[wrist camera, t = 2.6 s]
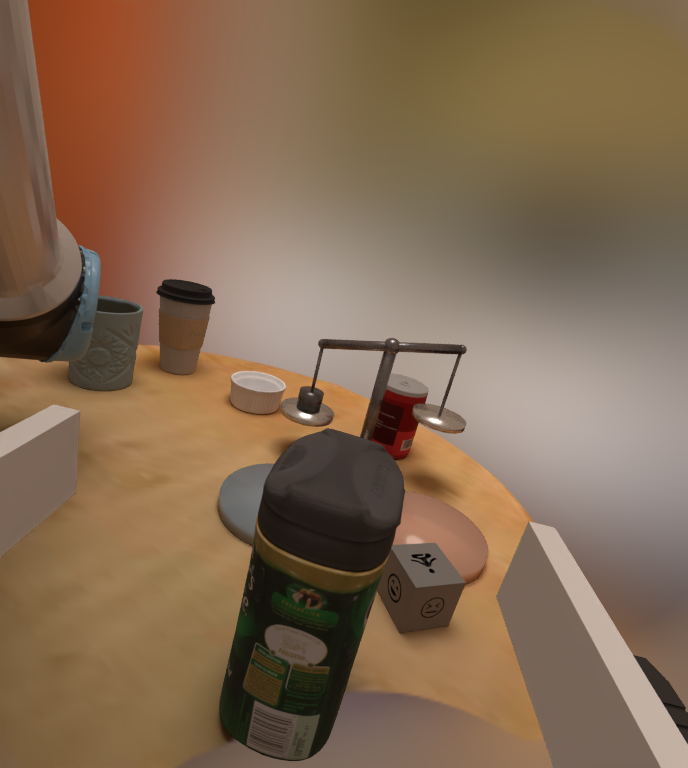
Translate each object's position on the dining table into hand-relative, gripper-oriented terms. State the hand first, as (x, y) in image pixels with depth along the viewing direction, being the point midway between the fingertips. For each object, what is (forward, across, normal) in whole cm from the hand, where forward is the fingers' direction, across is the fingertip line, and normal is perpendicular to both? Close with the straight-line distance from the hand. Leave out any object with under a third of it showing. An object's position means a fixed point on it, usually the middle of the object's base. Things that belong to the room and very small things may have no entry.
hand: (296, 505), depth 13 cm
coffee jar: (+12, +2, -23) cm, 26 cm away
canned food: (+54, +10, -22) cm, 59 cm away
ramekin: (+58, -12, -22) cm, 63 cm away
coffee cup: (+65, -28, -22) cm, 74 cm away
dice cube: (+22, +12, -23) cm, 34 cm away
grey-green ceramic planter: (+53, -35, -22) cm, 67 cm away
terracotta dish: (+33, +14, -22) cm, 42 cm away
